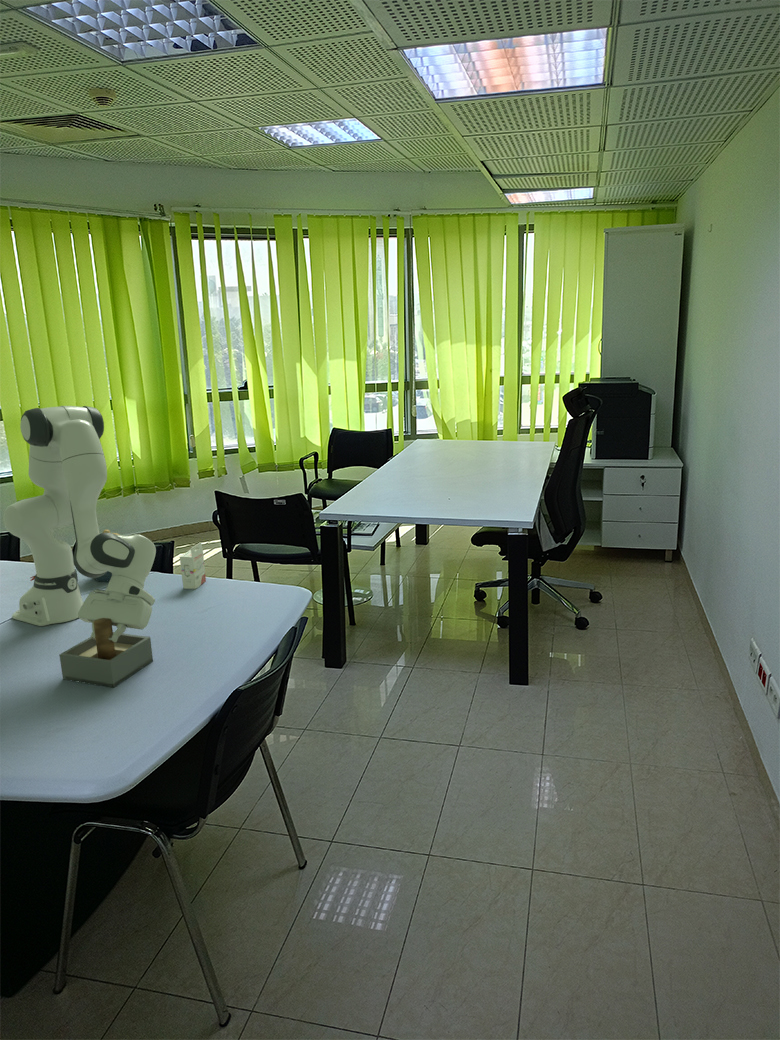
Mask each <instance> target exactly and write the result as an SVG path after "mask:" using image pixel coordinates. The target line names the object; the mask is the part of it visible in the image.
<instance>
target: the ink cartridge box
mask: <svg viewBox="0 0 780 1040" xmlns="http://www.w3.org/2000/svg"><path fill="white" fill-rule="evenodd" d="M204 558H205V557H204V549H203V544H202V542H201V541H199V542H198V543H197V544H196V545H194V546H192V547H191V548H190V549H189V550H188V551H186V552H185V553H184V554H182V555H180V556H179V563H180V570H181V579H182V586H183V587H182V588H183V589H184V590H185V589H187V590H197V589H198V588H199V587H200V586H201V585H203V584H204V583H205V582H206V581H207V580H206V579H207V578H206V568H205V559H204Z"/></svg>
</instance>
